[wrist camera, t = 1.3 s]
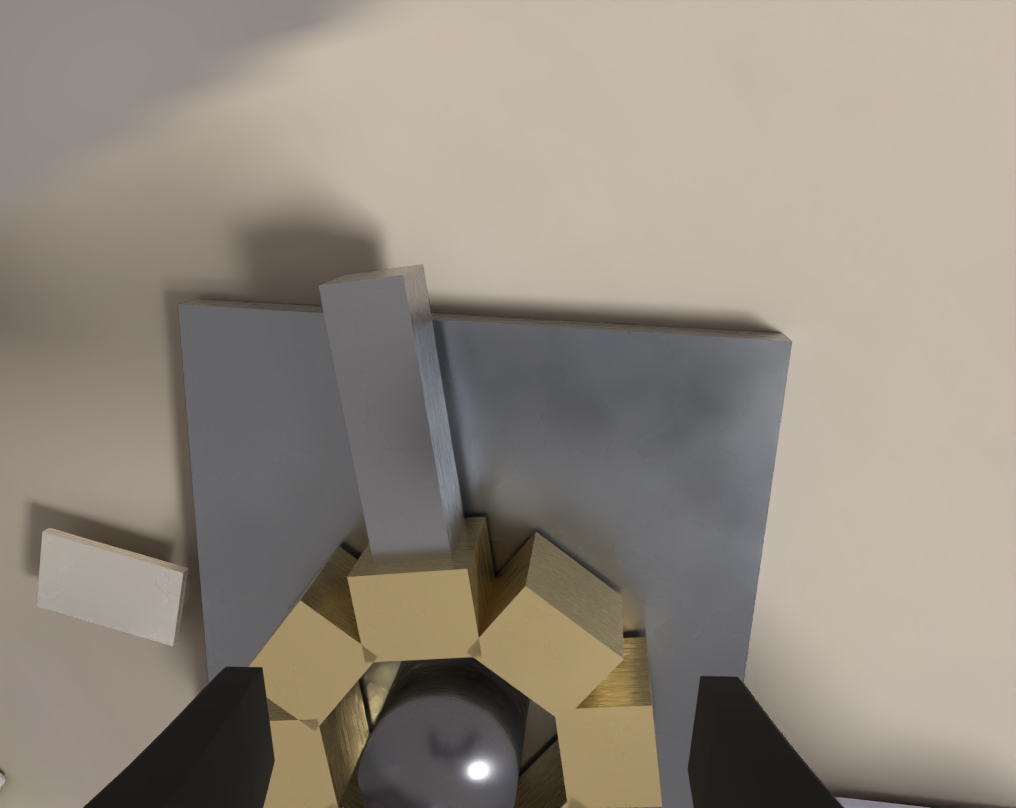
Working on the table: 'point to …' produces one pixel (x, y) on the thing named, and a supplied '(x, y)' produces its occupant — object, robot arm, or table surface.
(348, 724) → the ring nut
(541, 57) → the table surface
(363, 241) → the table surface
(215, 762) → the robot arm
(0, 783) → the syrup box
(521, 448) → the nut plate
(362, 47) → the table surface
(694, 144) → the table surface
